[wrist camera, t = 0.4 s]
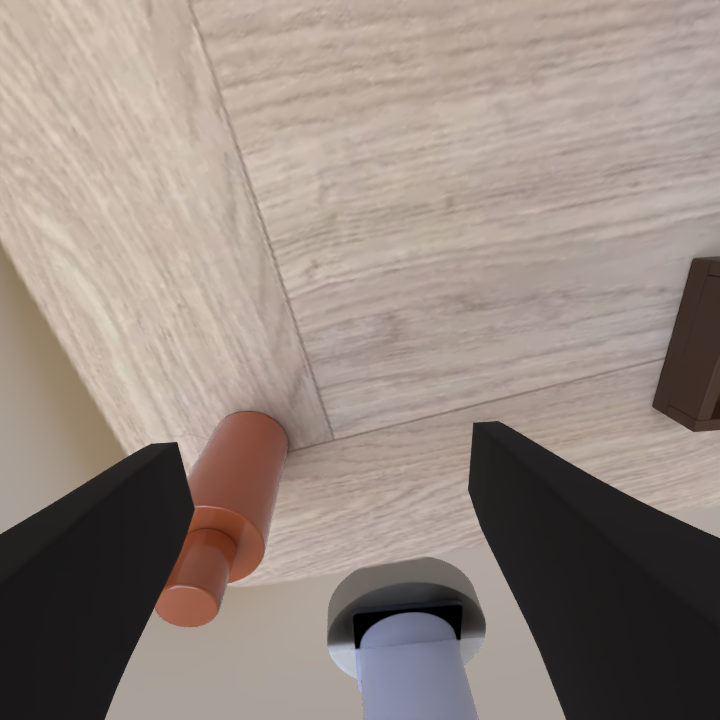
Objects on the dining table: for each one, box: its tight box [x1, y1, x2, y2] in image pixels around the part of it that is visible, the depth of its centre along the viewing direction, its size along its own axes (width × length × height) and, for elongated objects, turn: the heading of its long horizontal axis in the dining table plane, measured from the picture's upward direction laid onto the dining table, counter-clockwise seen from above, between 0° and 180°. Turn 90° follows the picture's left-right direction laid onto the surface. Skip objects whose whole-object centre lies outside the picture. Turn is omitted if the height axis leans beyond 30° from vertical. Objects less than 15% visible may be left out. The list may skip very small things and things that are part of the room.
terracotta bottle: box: [155, 411, 288, 627], centre depth 14 cm, size 4×4×8 cm
